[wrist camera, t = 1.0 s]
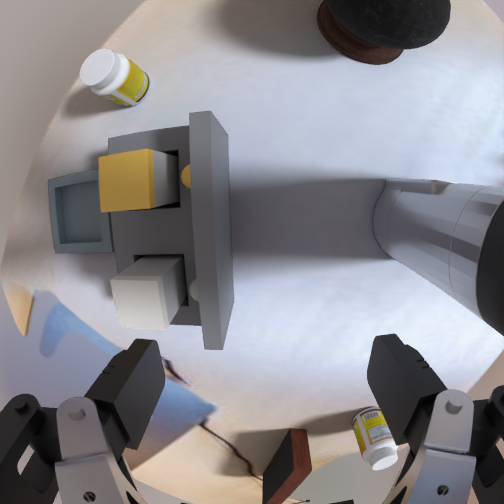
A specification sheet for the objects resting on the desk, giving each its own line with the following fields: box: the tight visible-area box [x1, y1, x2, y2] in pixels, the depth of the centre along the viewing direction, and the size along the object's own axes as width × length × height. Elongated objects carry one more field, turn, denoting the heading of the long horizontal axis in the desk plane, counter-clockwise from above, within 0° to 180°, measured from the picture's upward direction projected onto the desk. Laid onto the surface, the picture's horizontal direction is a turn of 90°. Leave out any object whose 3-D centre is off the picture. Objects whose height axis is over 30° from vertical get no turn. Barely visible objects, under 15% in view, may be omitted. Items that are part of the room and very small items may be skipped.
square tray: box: [48, 169, 115, 253], centre depth 28 cm, size 9×9×2 cm
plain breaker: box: [110, 254, 188, 331], centre depth 23 cm, size 4×4×8 cm
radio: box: [262, 429, 312, 504], centre depth 31 cm, size 19×3×15 cm, turn 167°
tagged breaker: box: [99, 149, 180, 213], centre depth 21 cm, size 4×4×8 cm
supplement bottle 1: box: [80, 49, 151, 107], centre depth 21 cm, size 5×5×8 cm
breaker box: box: [108, 111, 234, 350], centre depth 24 cm, size 18×10×10 cm, turn 1°
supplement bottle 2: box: [352, 407, 398, 470], centre depth 31 cm, size 6×6×10 cm
